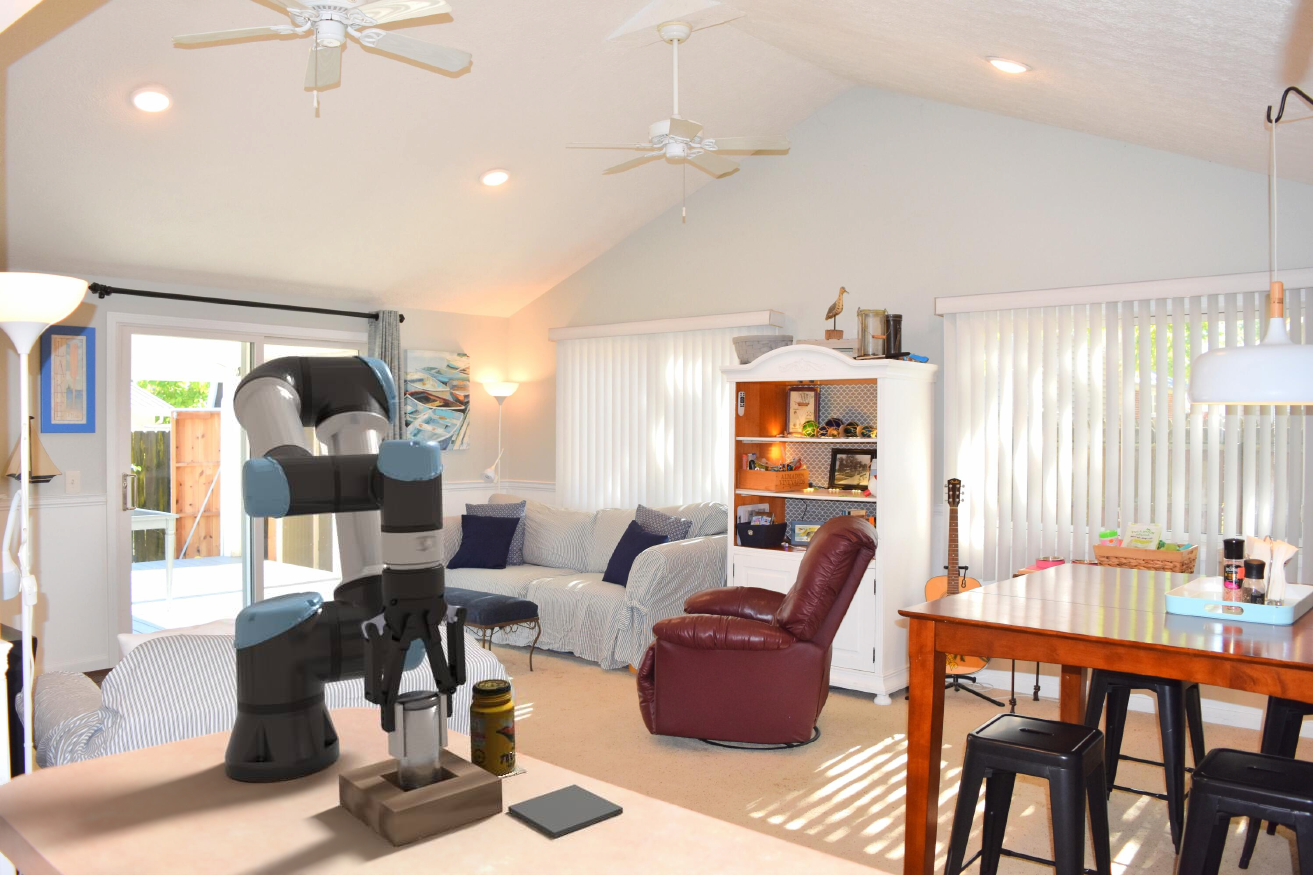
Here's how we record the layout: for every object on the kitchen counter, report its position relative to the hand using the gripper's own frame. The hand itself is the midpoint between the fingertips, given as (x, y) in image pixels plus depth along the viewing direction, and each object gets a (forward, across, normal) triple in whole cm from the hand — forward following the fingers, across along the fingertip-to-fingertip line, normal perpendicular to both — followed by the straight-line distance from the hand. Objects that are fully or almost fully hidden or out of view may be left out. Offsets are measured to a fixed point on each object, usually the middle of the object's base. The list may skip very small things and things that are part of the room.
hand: (418, 749), depth 118 cm
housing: (+7, 0, 0) cm, 7 cm away
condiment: (+8, +12, +5) cm, 15 cm away
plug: (+7, 0, 0) cm, 7 cm away
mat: (+7, +12, -14) cm, 20 cm away
